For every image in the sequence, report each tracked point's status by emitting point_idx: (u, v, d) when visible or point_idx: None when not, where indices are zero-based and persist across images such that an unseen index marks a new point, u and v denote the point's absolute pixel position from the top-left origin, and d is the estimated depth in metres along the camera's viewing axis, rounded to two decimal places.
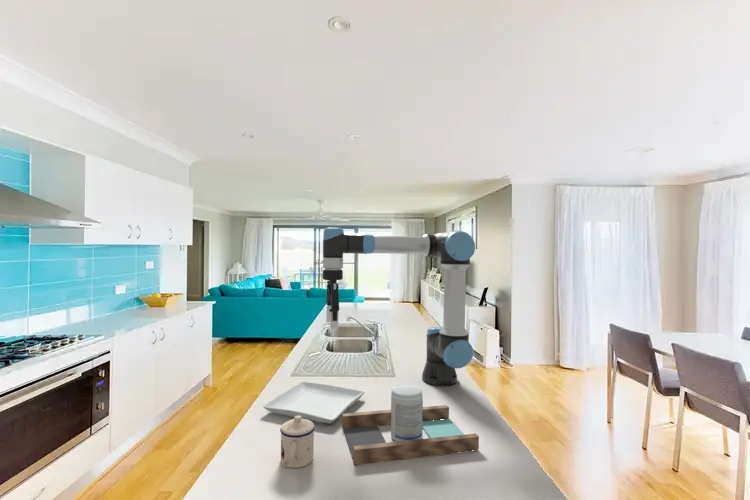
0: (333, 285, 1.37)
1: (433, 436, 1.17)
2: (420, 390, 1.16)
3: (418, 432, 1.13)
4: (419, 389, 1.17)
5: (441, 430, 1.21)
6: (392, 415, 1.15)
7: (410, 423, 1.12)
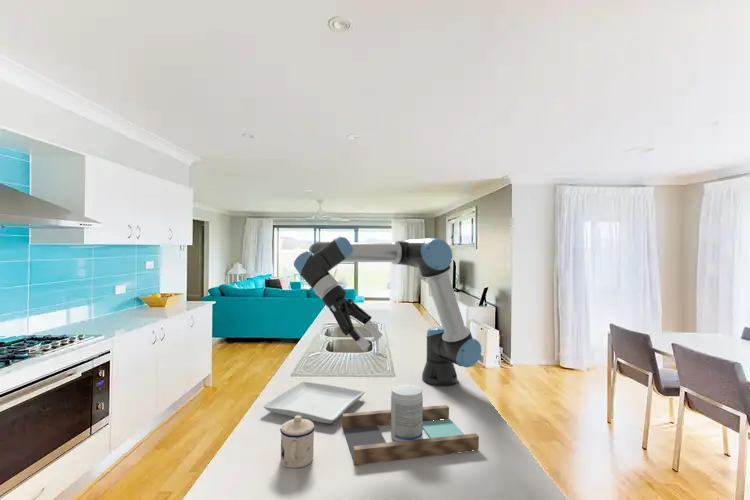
0: (331, 308, 1.17)
1: (433, 436, 1.17)
2: (420, 390, 1.16)
3: (418, 432, 1.13)
4: (419, 389, 1.17)
5: (441, 430, 1.21)
6: (392, 415, 1.15)
7: (410, 423, 1.12)
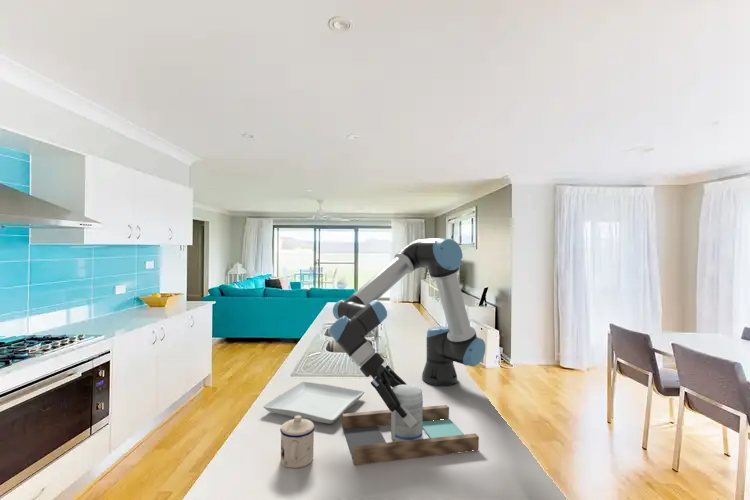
0: (373, 383, 1.13)
1: (433, 436, 1.17)
2: (420, 390, 1.16)
3: (418, 432, 1.13)
4: (419, 389, 1.17)
5: (441, 430, 1.21)
6: (392, 415, 1.15)
7: None
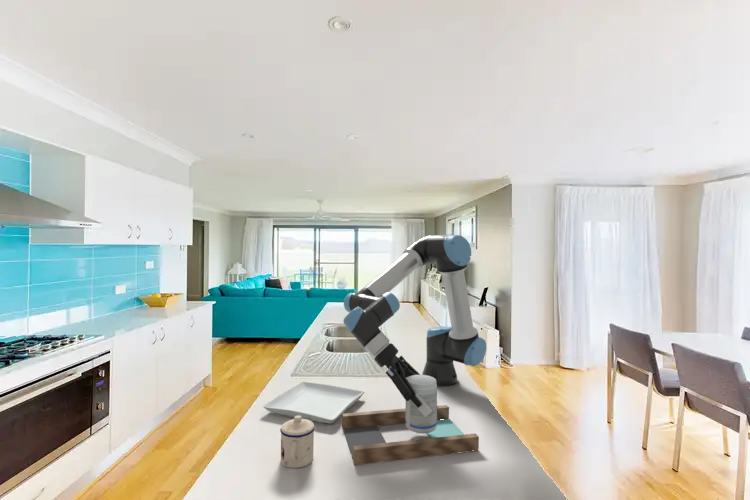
0: (388, 373, 1.13)
1: (433, 436, 1.17)
2: (434, 380, 1.17)
3: (433, 421, 1.14)
4: (433, 379, 1.18)
5: (441, 430, 1.21)
6: (407, 405, 1.16)
7: None
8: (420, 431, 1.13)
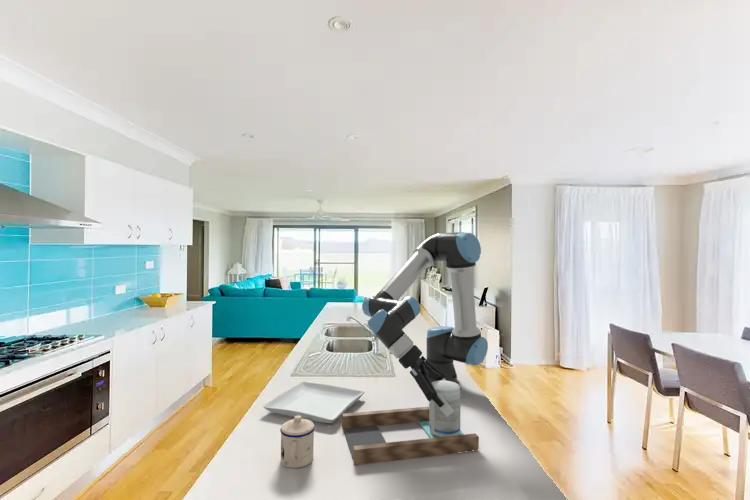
0: (412, 372, 1.16)
1: (433, 436, 1.17)
2: (458, 385, 1.19)
3: (457, 426, 1.16)
4: (457, 385, 1.20)
5: None
6: (431, 410, 1.18)
7: (450, 418, 1.15)
8: (445, 436, 1.15)
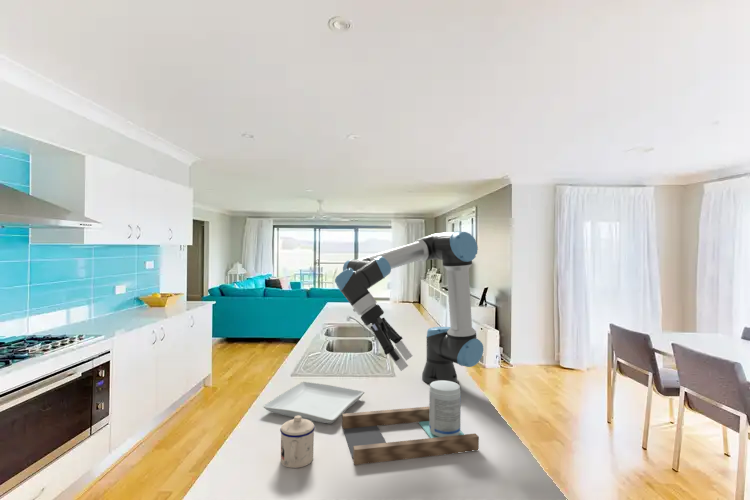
0: (373, 327, 1.21)
1: (433, 436, 1.17)
2: (458, 386, 1.19)
3: (457, 426, 1.16)
4: (457, 385, 1.20)
5: None
6: (431, 410, 1.18)
7: (450, 418, 1.15)
8: (445, 436, 1.15)
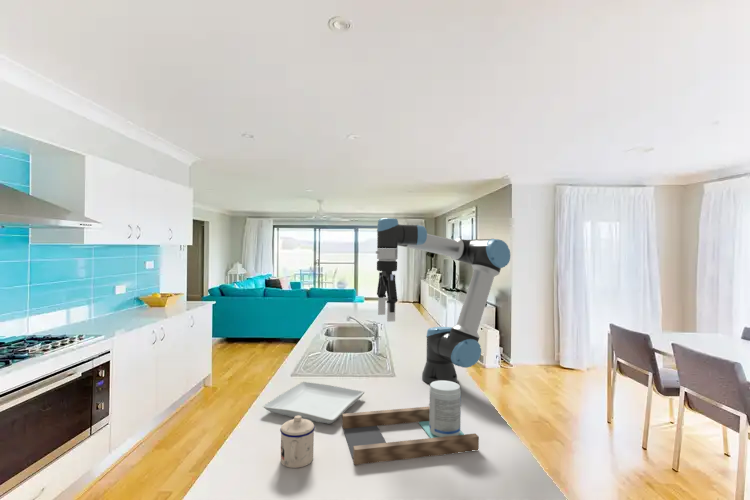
0: (390, 276, 1.35)
1: (433, 436, 1.17)
2: (458, 386, 1.19)
3: (457, 426, 1.16)
4: (457, 385, 1.20)
5: None
6: (431, 410, 1.18)
7: (450, 418, 1.15)
8: (445, 436, 1.15)
